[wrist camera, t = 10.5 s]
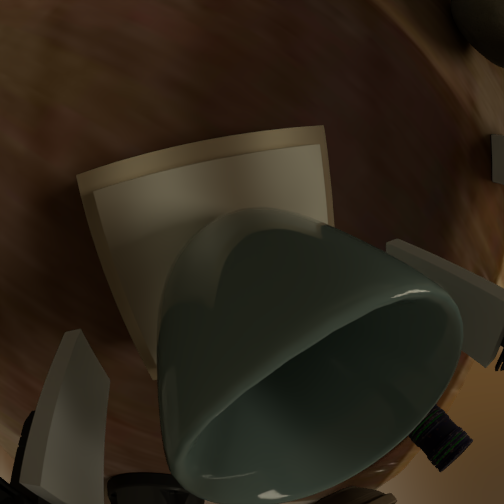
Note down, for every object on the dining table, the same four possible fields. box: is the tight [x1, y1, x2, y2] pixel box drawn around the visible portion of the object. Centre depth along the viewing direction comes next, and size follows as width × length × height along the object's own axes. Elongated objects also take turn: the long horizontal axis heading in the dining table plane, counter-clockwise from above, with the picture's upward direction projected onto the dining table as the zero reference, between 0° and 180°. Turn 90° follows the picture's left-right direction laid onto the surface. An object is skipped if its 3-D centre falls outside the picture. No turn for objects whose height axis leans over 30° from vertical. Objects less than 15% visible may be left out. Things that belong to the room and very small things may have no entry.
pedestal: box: [76, 125, 334, 380], centre depth 17 cm, size 13×13×6 cm
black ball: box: [450, 0, 504, 68], centre depth 12 cm, size 14×14×15 cm
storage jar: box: [409, 404, 473, 472], centre depth 39 cm, size 10×10×15 cm
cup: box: [157, 206, 463, 504], centre depth 9 cm, size 8×8×10 cm
